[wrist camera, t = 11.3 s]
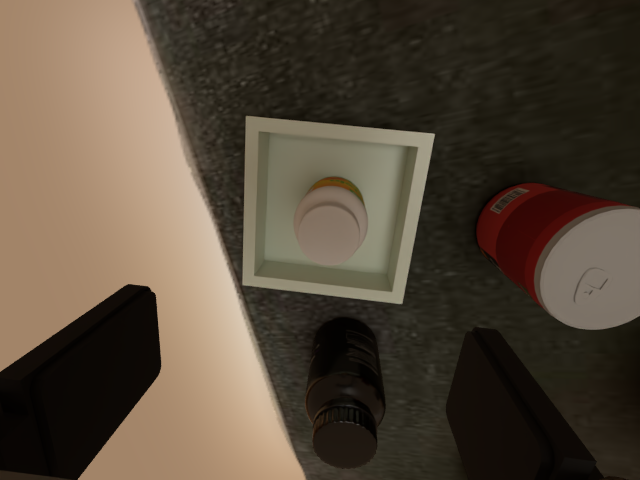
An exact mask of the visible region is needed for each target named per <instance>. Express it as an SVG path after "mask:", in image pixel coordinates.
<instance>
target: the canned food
mask: <svg viewBox="0 0 640 480" xmlns="http://www.w3.org/2000/svg"><path fill="white" fill-rule="evenodd" d="M476 234H477V241H478V245H479V247H480V250H481V252H482V253H483V254H484V256H485V257H486V258H487V259H488V260H489V261H490V262H491V263H493V264H494V265H495V266H496V267H497V268H498V269H499V270H500V271H502V272H503V273H504V274H505V275H506V276H507V277H508V278H509V279H510V280H512V281H513V282H514V283H515V284H516V285H517V286H518V287H519V288H521V289H522V290H523V291H524V292H525V293H526V294H527V295H528V296H530V297H531V298H532V299H533V300H534V301H535V302H536V303H537V304H538V305H540V306H541V307H542V308H543V309H545V310H546V311H547V312H548V313H549V314H550V315H551V316H553V317H555V318H556V319H558V320H559V321H561V322H563V323H565V324H566V325H569V326H572V327H576V328H579V329H588V330H595V329H606V328H610V327H615V326H618V325H621V324H624V323H626V322H629V321H631V320H633V319H635V318H636V317H638V316H640V208H636V207H633V206H629V205H625V204H622V203H619V202H614V201H610V200H606V199H602V198H598V197H594V196H590V195H585V194H581V193H577V192H573V191H569V190H565V189H561V188H556V187H552V186H548V185H544V184H539V183H526V184H520V185H517V186H513V187H510V188H507V189H505V190H503V191H501V192H500V193H498V194H497V195H496V196H494V197H493V198H492V199H491V200H490V201H489V202H488V203H487V204H486V206H485V207H484V209H483V210H482V212H481V214H480V216H479V219H478V223H477V230H476Z"/></svg>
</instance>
